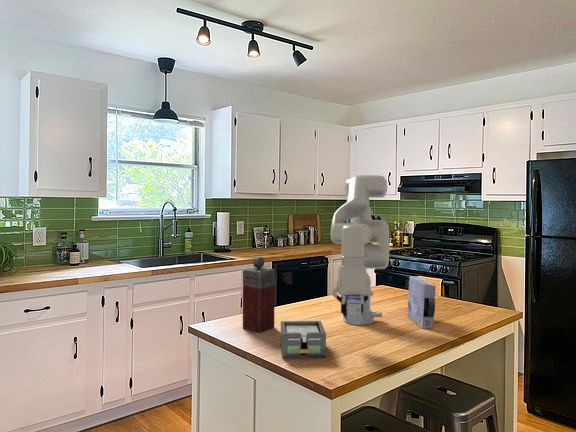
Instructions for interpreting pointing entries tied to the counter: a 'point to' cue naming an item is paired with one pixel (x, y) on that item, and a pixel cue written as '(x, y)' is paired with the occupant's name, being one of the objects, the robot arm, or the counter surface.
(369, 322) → the robot arm
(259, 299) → the red square decanter
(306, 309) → the counter surface
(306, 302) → the counter surface
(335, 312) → the counter surface
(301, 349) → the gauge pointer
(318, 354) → the grey hollow square box
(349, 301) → the medicine box
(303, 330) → the light grey flat panel
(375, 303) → the counter surface
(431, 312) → the cake pan box
